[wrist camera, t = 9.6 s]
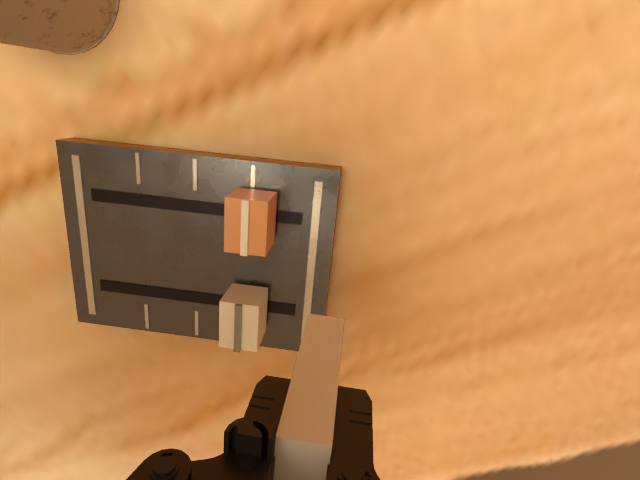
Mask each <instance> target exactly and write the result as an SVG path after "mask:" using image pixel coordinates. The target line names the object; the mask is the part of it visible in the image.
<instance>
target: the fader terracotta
mask: <svg viewBox="0 0 640 480" xmlns="http://www.w3.org/2000/svg"><path fill="white" fill-rule="evenodd" d="M276 207H277V192H273V191H264V190H256V189H247V188H237V189H235V190H234V191H232V192H231V193H230V194H228V195H227V196H225V205H224V252H229V253H237V254H240V256H248V255H254V256H262V257H266V255H267V253H268V252H269V250H270V249H271V247H272V245H273V244H274V241H275V224H276Z"/></svg>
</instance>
